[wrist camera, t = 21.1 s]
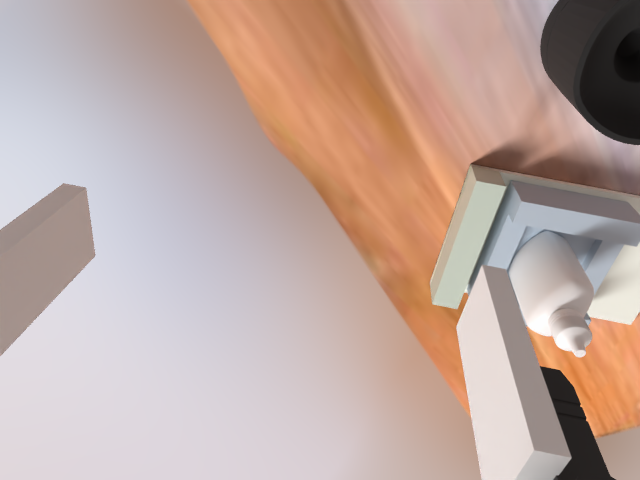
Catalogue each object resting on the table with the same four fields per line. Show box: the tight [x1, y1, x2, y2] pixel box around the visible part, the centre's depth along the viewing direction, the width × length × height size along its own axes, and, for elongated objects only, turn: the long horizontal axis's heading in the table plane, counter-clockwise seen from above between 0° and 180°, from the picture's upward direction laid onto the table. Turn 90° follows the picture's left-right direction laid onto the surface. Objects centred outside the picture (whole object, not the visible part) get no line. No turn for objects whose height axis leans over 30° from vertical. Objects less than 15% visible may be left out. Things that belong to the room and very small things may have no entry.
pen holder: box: [541, 0, 640, 145], centre depth 30 cm, size 9×9×10 cm
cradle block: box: [467, 180, 640, 326], centre depth 42 cm, size 12×10×4 cm
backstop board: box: [430, 164, 640, 325], centre depth 43 cm, size 13×20×4 cm, turn 81°
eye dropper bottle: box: [509, 231, 594, 357], centre depth 37 cm, size 4×6×12 cm
